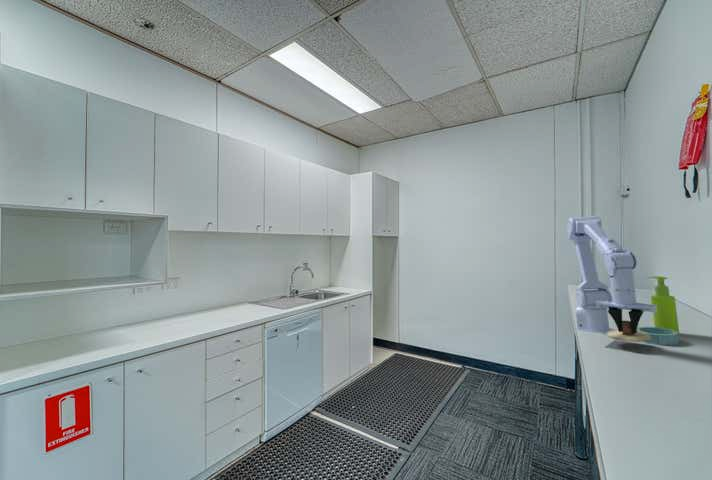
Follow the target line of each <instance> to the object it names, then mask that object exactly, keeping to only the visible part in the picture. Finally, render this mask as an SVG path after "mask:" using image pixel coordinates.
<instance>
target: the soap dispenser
mask: <svg viewBox="0 0 712 480" xmlns="http://www.w3.org/2000/svg"><path fill="white" fill-rule="evenodd" d="M648 279H654V280H655V279H656V280H657V284H656V285H655V286H654V290H655V291H654V292H655V294H654V295H651V296H650V298H651V305H656V306H657V312H655V313H654V312H652V315H653V323H654V327H658V328H666V329H670V330H674V331H676V332H678V337H679V336H680V329H679V320H678V314H677V306H676V305H677V303H676V297H675V296H673V295H670V290H669V286H667V285H666V284H665V280H667V279H668V277H665V276H660V275H658V276H648Z"/></svg>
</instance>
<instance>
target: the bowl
mask: <svg viewBox="0 0 712 480" xmlns="http://www.w3.org/2000/svg"><path fill="white" fill-rule="evenodd" d="M637 331H638V332H643V333H646V334H648V335H650V336H651V340H650V341H645V342H644V344H649V345H656V346H657V345H658V346H676V345H678V344H679V342H680V340H679V339H680V338H679V336H678V332H676V331H674V330H670V329H666V328H658V327H655V326H641V327H639V326H637Z"/></svg>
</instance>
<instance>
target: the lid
mask: <svg viewBox="0 0 712 480" xmlns="http://www.w3.org/2000/svg"><path fill="white" fill-rule="evenodd" d="M621 325H622V332H619V330H618V329H614V330H610V331H607V334H606V336H607V337H609V338H611V339H614V340H619V341H625V342H632V343H641V342H642V343H645V341H650V340H651V336H650V335H648V334H646V333H643V332H638V331H637V333H636V334H632V331H631V320H622V321H621Z"/></svg>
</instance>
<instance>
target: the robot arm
mask: <svg viewBox="0 0 712 480" xmlns="http://www.w3.org/2000/svg"><path fill="white" fill-rule="evenodd" d="M565 226H566V231H567V236H568V239H569V240H570V241H573V243H574V247H575V253H576V257H577V262H578V266H579V271H580V274H581V279H582V282H581V283H580V284H579V285H577V286H576V288H575V295H576V297H575V298H576V299H575V300H576V303H577V304H578V306H577V307H576V308H575V309H576V310H575V318H576V326H577V328H576V331H580V332H581V331H582V332H591V333H596V334H603V335H607V331H610V330H615V329H614V328H611V327H610V324H609V323H610V322H609V316H610V317H611V318H612V320H613V321H614V324H615V325H616V328H617V330H619V332H622V325H621V321H623V310H627V311H628V315H629V321H631V331H632V334H636V333H637V328H638V327H639V322H640V319H641V318H642V315H643V314H644V312H650V313H653V312H654V313H655V312H657V306H656V305H652V304H648V303H643V302H642V303H641V302H637V297H636V295H637V294H636V288H635V287H636V286H635V279H634V270H635V269H636V267H637V265H638V264H637V258H636V255H635V254H634V253H633V251H630V250H627V249H623V248H622V246H621V245H620V244H619V243H618V242H617V240H615V239H614V238H613V237H609V236H607V234H606V233H605V232H604V230H603V229H602V219H601V218H600V216H598V215H591V216H579V217H569V218H568V219H567V222H566V225H565ZM591 240H593V241H594V242H595V249H596V250H597V251H598V252H599V254H600V255H601V257H602V258H603V259H604V260H603V264H604V267H605V268H606V273H607V275H608V276H609V279H610V281H609V283H610V290H611V292H610V290H609V287H608V285H607V284H605V283H604V282H601V281H599V277H598V276H599V275H598V272H597V269H596V264H595V258H594V255H593V250H592V247H591ZM629 310H630V311H629Z"/></svg>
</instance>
